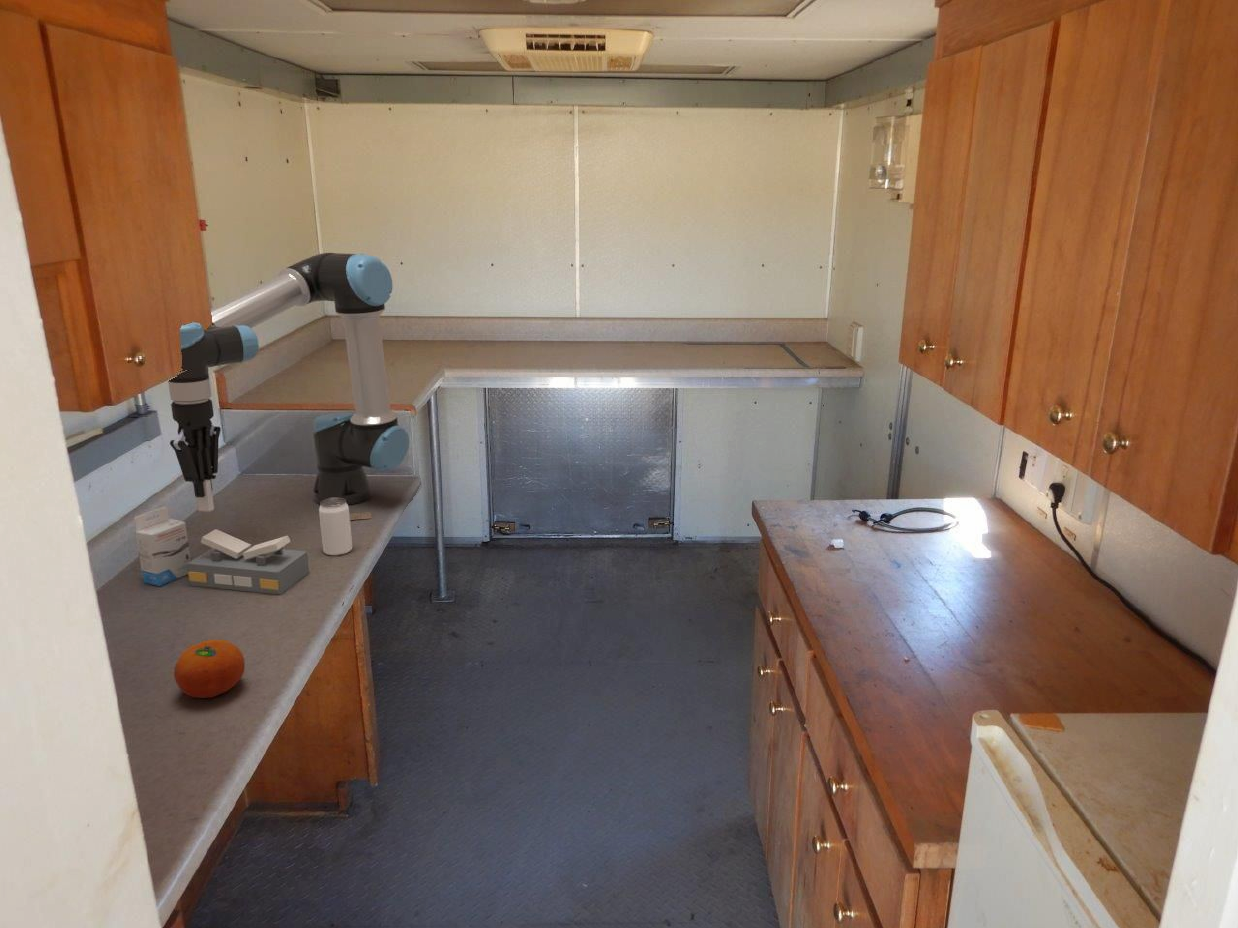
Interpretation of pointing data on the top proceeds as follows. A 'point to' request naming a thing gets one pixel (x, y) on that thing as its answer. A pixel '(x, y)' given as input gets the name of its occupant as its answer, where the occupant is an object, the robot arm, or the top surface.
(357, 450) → the robot arm
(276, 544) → the rocker
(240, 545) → the rocker
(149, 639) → the top surface
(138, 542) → the ink box
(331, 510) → the can
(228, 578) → the switch unit
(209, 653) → the fruit
